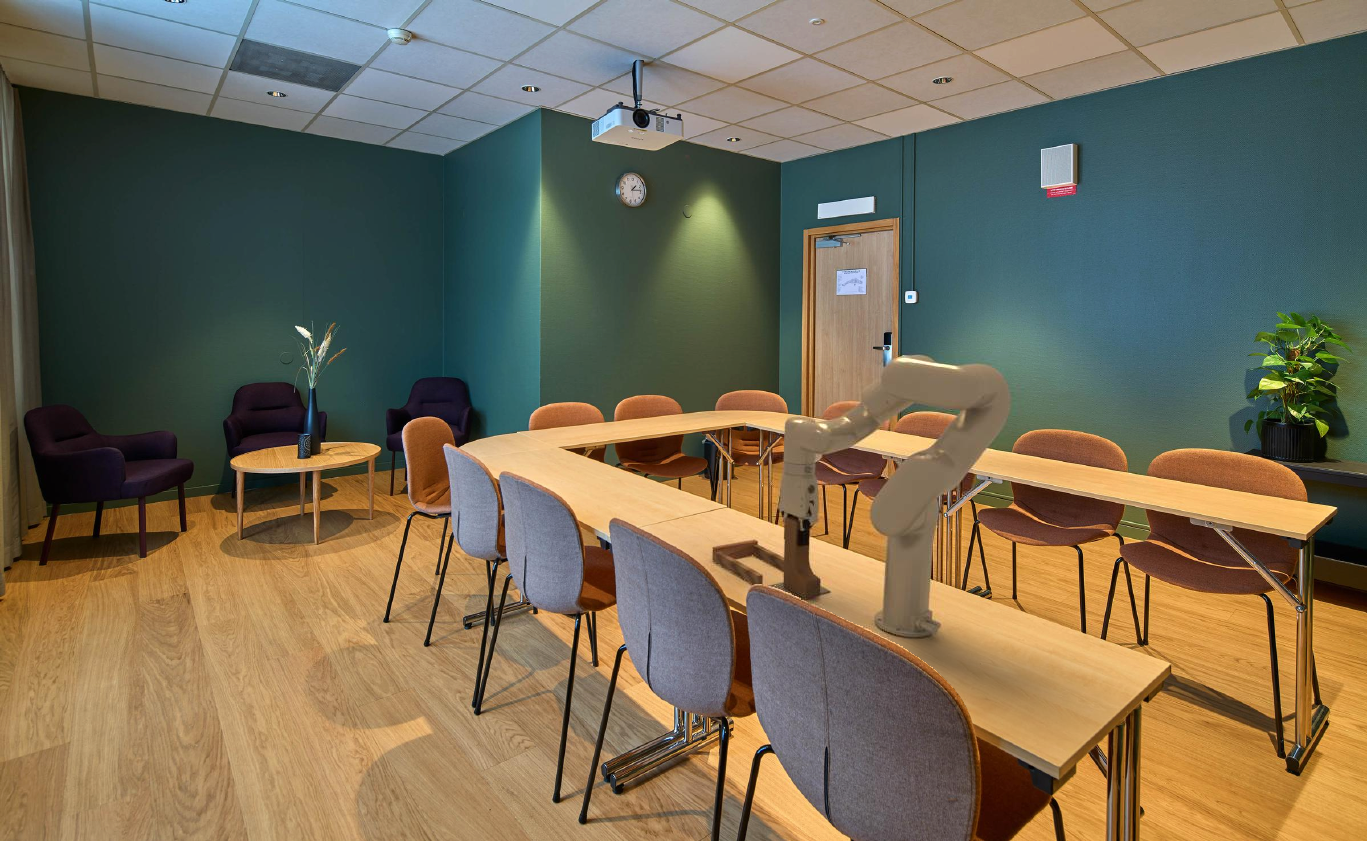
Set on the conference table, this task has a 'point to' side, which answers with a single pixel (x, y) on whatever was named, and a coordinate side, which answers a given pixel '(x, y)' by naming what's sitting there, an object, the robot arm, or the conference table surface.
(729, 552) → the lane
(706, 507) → the conference table surface
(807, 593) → the wooden block
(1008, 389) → the robot arm
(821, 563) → the conference table surface
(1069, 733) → the conference table surface
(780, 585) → the mat
